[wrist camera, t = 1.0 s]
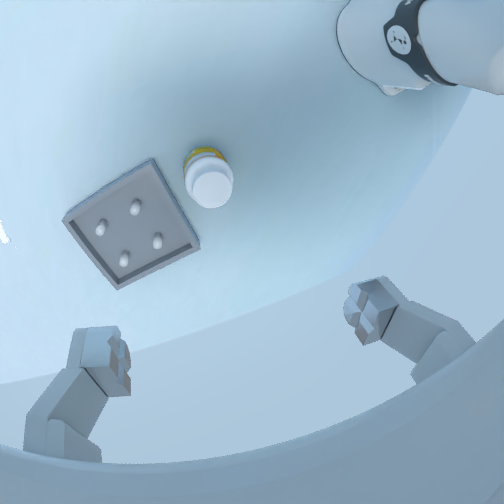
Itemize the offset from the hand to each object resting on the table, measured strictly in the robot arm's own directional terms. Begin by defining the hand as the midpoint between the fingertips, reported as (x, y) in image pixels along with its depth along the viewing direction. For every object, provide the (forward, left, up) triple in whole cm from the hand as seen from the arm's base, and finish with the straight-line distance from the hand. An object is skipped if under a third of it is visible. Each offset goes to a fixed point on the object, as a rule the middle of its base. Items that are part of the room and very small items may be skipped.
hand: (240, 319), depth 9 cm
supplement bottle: (0, +3, -29) cm, 29 cm away
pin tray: (+13, +6, -29) cm, 32 cm away
